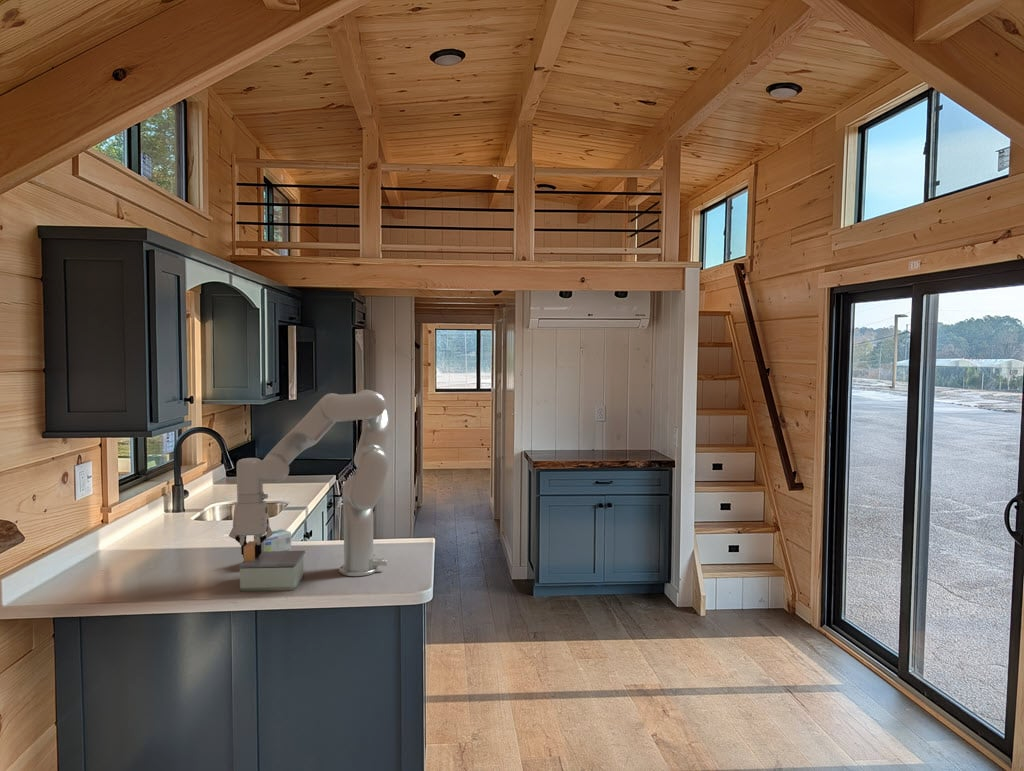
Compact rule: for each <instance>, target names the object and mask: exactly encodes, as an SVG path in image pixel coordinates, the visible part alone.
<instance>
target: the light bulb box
mask: <svg viewBox="0 0 1024 771" xmlns="http://www.w3.org/2000/svg"><path fill="white" fill-rule="evenodd" d="M272 532H273V535H272V536H270V537H268V538H266V539H265V540H264V541H263V542H262V543H261V546H262V552H265V551H292V532H291V531H289V530H285V529H282V528H280V529H276V530H275V529H274V530H272ZM265 534H267V532H266V533H265ZM265 534H263V535H265ZM263 535H262V536H263ZM253 541H256V536H255V535H253Z"/></svg>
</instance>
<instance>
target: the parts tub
mask: <svg viewBox="0 0 1024 771" xmlns="http://www.w3.org/2000/svg"><path fill="white" fill-rule="evenodd" d="M303 578H304V556H303V557H302V558H301V559H300V561H299V562H298V564H297V565H296V566H292V567H254V568H240V567H239V592H266V591H267V592H269V591H271V592H272V591H273V592H275V591H277V592H279V591H295V590H296V589H297V587H298V585H299V584H300V582H301V581H302V579H303Z"/></svg>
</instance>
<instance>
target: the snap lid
mask: <svg viewBox="0 0 1024 771" xmlns="http://www.w3.org/2000/svg"><path fill="white" fill-rule="evenodd" d="M255 545H256V541H254V540H252V541H251V540H250V541H247V544H246V545H245V546H244V558H243V561H242V562H241V563H240V564H239V569H240V568H254V567H292V566H296V565H297V564H298V562H299V561H300V559H301V558H302V557H303V558H304V555H305V554H306V550H304V549H303V550H291V551H265V552H262V553H261V554H260V556H259V557H258V558H256V557H255Z"/></svg>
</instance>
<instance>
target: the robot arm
mask: <svg viewBox="0 0 1024 771" xmlns="http://www.w3.org/2000/svg"><path fill="white" fill-rule="evenodd" d="M360 420H361V421H362V422H363V424H362V430H361V433H360V434H361V435H360V438H359V441H358V444H357V447H356V450H355V453H354V457H353V464H354V466H355V467H356V473H355V474H354V475H352V476H350V477H348V478H347V479H346V481H344V484H343V486H342V506H343V564H342V565H340V567H339V568H338V569H339V570H338V571H339V573H340V574H341V575H343V576H347V577H362V576H363V577H364V576H369V575H372V574H374V573H375V574H376V573H377V572H378V570H379V566H381V567H386V566H387V565H388V559H385V558H377V557H376V554H375V553H374V507H375V506H376V505H377V503H378V502H379V499H380V497H381V494H382V490H383V487H384V484H385V481H386V477H387V473H388V470H389V457H388V455H387V453H386V452H385V447H386V444H387V438H388V436H389V431H390V416H389V413H388V410H387V402H386V399H385V397H384V396H383V394H381V393H379V392H377V391H374V390H370V389H363V390H360V391H358V392H357V393H349V394H346V393H344V394H338V393H336V392H335V393H332V392H330V393H326V394H325V395H323V396H322V397H321V398H320V399H319V400H318V401H317V403H315V405H314V406H313V407H312V408H311V409H310V410H309V411H308V412H307V413H306V414H305V415H304V417H303V418H302V419H300V421H298V423H297V424H296V425H295V426H294V427H293V428H291V430H290V431H289V432H288V433H287V434H285V435H284V436H283V438H281V440H279V441H278V442H277V444H276V445H275V446H273V448H272V449H271V450H270V451H269V452H268V453H267V454H266V456H265V457H264V458H263V459H260V458H258V457H246V458H241V459H238V460H237V462H236V493H237V494H236V498H237V499H236V502H235V504H234V510H233V516H232V528H231V531H230V532H229V535H228V536H229V538H231V539H234V540H235V541H236V542H237V543H239V545H240V546H241V547H240V550H241V552H240V553H241V555H242V557H243V558H242V559H244V546H245V545H246V544H247V543H248V541H247V536H254V535H255V536H256V545H255V557H256V558H258V557H259V556H260V554H261V553H262V546H261V543H262V542H263V541H264V540H265V539H266V538H268V537H270V536H272V535H273V532H272V531H273V530H272V528H271V527H270V517H269V508H268V505H267V504H268V503H267V501H266V499H268V498H269V495H268V494H267V493H265V492H264V485H263V484H264V483H263V482H270V483H277V482H282V481H284V480H286V479H287V477H288V475H289V473H290V464H291V463H292V462H293V461H294V460H295V459H296V458H297V457H298V456H299V455H300V454H301V453H302V452H303V451H305V450H307V449H309V448H311V447H313V446H315V445H317V443H319V442H320V440H321V439H322V438H323V437H324V436H325V434H327V432H328V431H329V430H330V429H331V428H332V427H333V426H334V425H335V424H336V423H337V422H338V423H340V422H350V421H351V422H352V421H353V422H354V421H360ZM266 532H267V534H265V533H266ZM263 534H265V535H263ZM262 535H263V536H262Z"/></svg>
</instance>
